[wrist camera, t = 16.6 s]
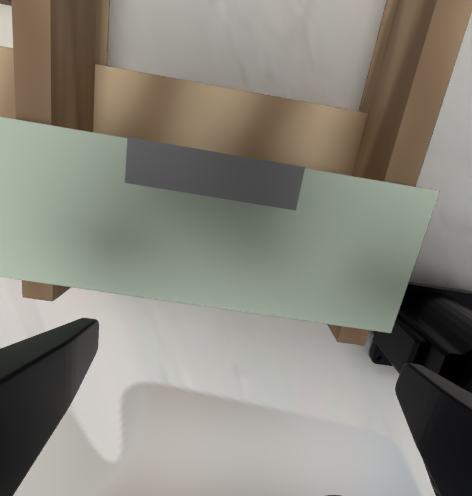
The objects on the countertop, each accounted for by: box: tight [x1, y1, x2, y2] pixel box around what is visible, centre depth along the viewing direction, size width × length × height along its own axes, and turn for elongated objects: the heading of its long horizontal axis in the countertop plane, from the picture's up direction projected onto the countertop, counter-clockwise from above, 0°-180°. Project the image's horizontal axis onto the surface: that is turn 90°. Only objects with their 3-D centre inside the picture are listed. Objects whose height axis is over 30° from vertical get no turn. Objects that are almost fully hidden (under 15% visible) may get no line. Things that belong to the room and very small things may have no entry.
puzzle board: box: [0, 0, 472, 346], centre depth 15 cm, size 28×23×6 cm
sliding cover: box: [0, 117, 440, 333], centre depth 13 cm, size 19×7×3 cm, turn 81°
